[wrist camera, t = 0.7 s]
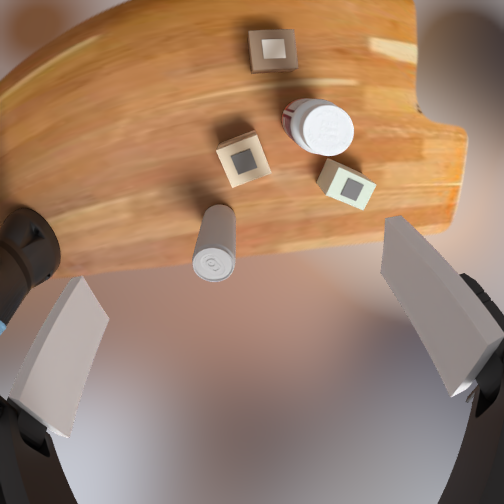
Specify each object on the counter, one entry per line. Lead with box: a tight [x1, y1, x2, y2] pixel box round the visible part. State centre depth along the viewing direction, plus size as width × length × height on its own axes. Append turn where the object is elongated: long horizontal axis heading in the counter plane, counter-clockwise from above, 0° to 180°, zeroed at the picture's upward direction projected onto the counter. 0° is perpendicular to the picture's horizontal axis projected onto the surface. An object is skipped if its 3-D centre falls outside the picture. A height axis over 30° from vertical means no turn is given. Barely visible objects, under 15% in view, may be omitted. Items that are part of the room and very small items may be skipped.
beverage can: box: [192, 205, 236, 282], centre depth 35 cm, size 5×5×12 cm
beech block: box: [216, 130, 271, 188], centre depth 33 cm, size 5×5×5 cm
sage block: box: [316, 158, 376, 210], centre depth 35 cm, size 6×4×5 cm, turn 71°
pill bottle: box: [282, 98, 354, 156], centre depth 28 cm, size 6×6×11 cm
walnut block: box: [248, 29, 298, 74], centre depth 26 cm, size 5×5×5 cm
